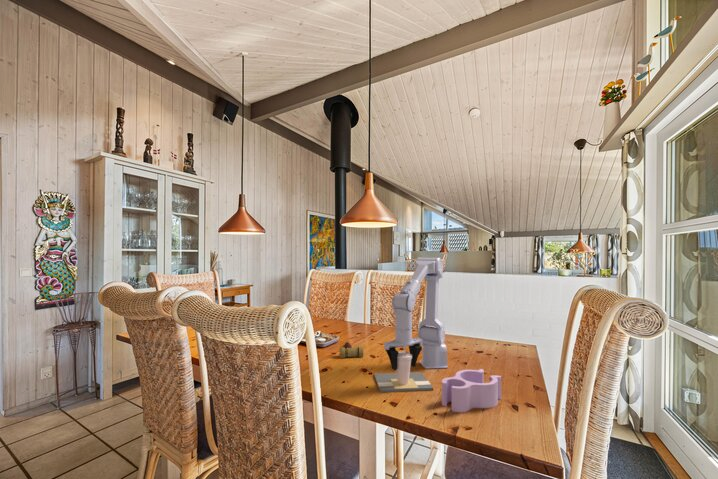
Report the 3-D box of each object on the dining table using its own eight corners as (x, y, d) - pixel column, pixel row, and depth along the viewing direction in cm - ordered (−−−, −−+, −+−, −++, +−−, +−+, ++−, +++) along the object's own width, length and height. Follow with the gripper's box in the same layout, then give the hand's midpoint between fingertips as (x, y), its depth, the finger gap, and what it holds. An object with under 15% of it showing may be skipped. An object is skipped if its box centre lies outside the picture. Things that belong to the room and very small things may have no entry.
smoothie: (411, 387, 106) (411, 345, 106) (392, 385, 107) (392, 343, 108) (413, 380, 112) (413, 339, 113) (395, 378, 114) (395, 338, 114)
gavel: (336, 339, 158) (356, 338, 159) (336, 348, 157) (356, 347, 159) (340, 348, 137) (363, 347, 139) (340, 359, 137) (363, 358, 138)
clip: (464, 418, 88) (463, 393, 89) (432, 400, 99) (432, 377, 99) (508, 401, 99) (508, 379, 99) (475, 387, 109) (475, 366, 110)
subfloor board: (421, 374, 120) (421, 371, 120) (433, 390, 106) (433, 387, 106) (374, 375, 118) (374, 373, 118) (380, 392, 104) (380, 389, 104)
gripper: (414, 323, 117) (414, 361, 117) (379, 327, 111) (379, 366, 111) (425, 328, 111) (426, 367, 110) (389, 332, 105) (389, 373, 104)
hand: (403, 367), depth 110 cm, fingers open, 7 cm apart
